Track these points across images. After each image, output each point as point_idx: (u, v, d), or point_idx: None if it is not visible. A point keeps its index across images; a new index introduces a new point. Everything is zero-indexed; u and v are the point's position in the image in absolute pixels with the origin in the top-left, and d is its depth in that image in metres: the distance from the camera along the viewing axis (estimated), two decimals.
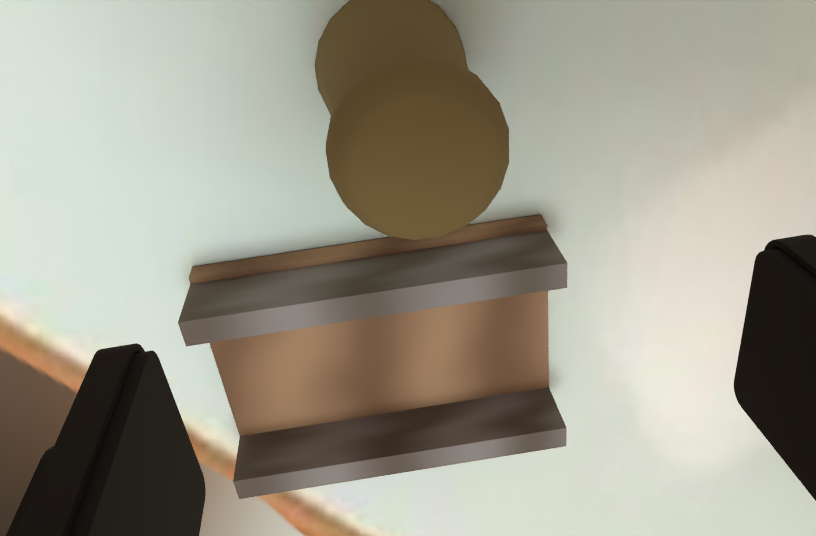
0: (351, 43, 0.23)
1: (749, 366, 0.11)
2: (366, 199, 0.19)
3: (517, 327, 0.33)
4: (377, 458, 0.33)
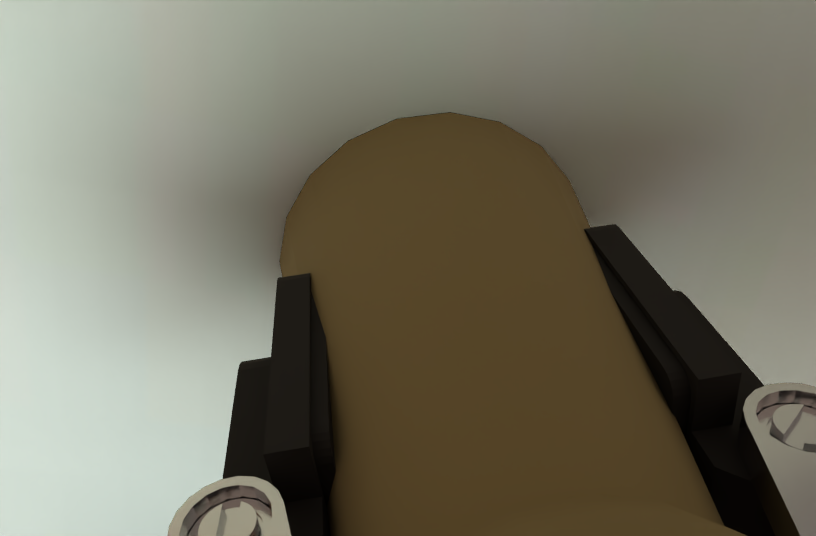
0: (360, 295, 0.09)
1: None
2: None
3: None
4: None
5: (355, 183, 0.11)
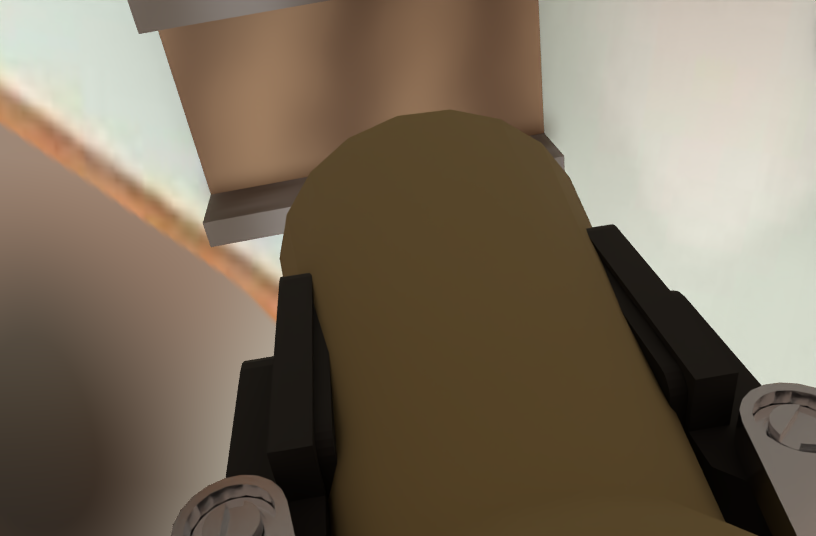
0: (360, 292, 0.09)
1: None
2: None
3: (507, 51, 0.31)
4: None
5: (355, 180, 0.11)
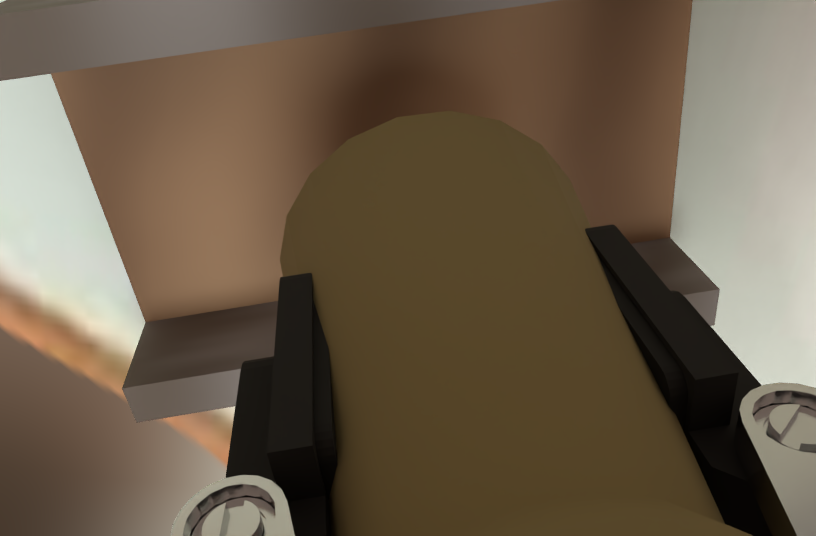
0: (360, 293, 0.09)
1: None
2: None
3: (629, 115, 0.19)
4: None
5: (355, 181, 0.11)
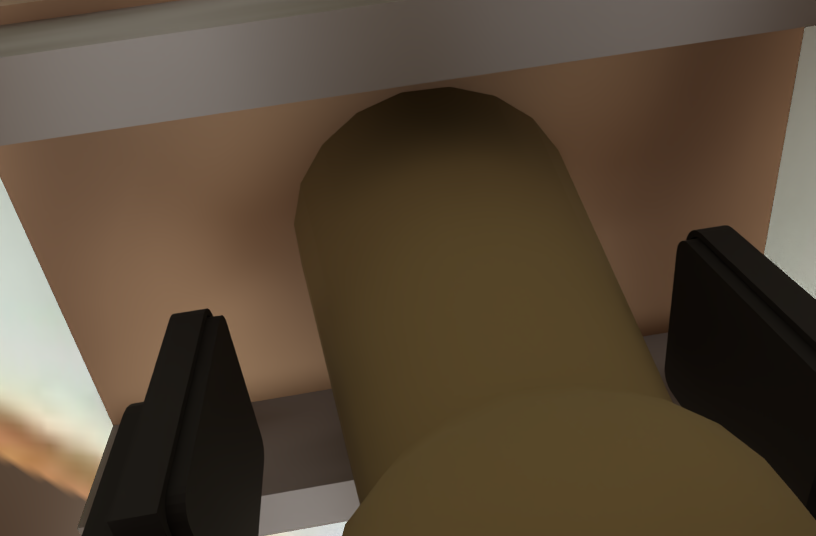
0: (370, 241, 0.10)
1: (675, 351, 0.11)
2: None
3: (714, 177, 0.15)
4: None
5: (364, 148, 0.12)
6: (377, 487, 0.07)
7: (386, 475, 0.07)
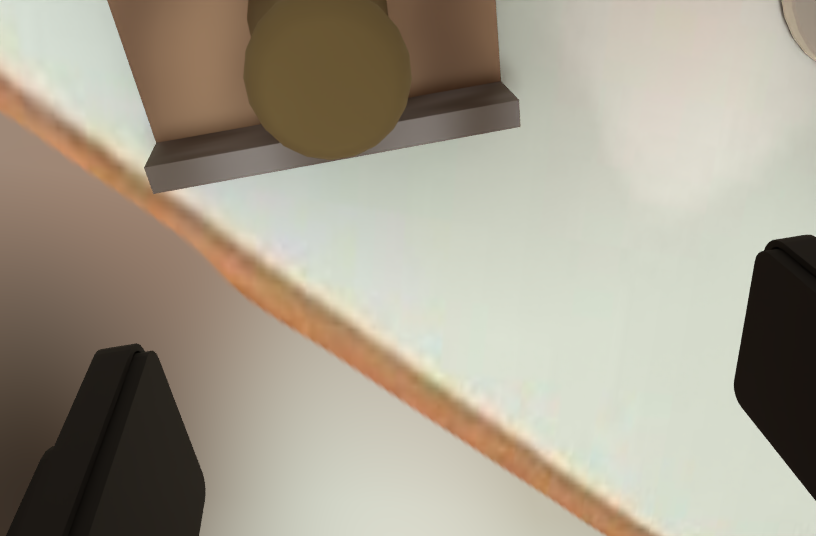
0: None
1: (749, 366, 0.11)
2: (280, 119, 0.20)
3: None
4: None
5: None
6: None
7: None
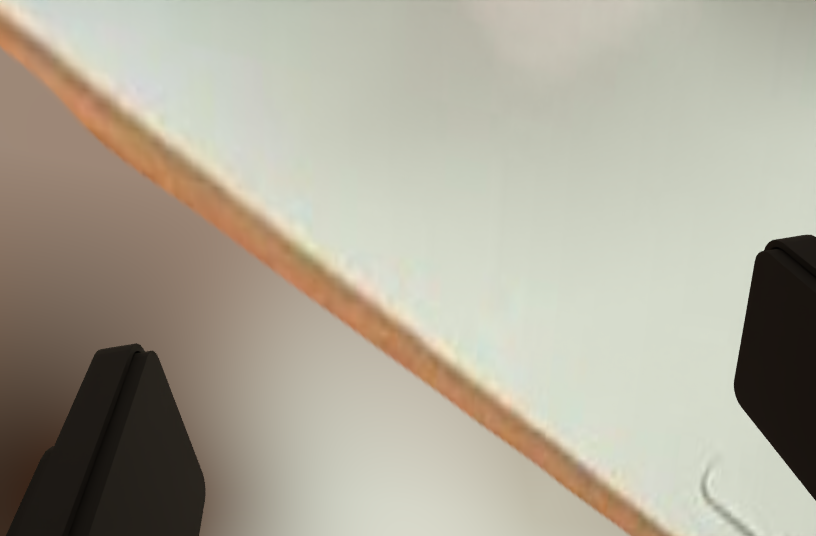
0: None
1: (749, 366, 0.11)
2: None
3: None
4: None
5: None
6: None
7: None
